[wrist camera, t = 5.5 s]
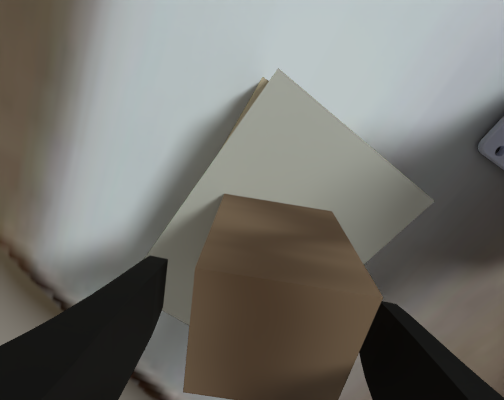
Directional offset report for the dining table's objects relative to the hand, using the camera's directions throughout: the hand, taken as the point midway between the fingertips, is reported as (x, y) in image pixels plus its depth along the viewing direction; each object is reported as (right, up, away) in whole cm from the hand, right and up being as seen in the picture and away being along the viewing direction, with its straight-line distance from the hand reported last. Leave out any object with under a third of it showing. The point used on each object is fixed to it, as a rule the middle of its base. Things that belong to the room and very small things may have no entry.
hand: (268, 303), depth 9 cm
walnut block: (0, +1, +3) cm, 3 cm away
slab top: (0, +2, +5) cm, 6 cm away
